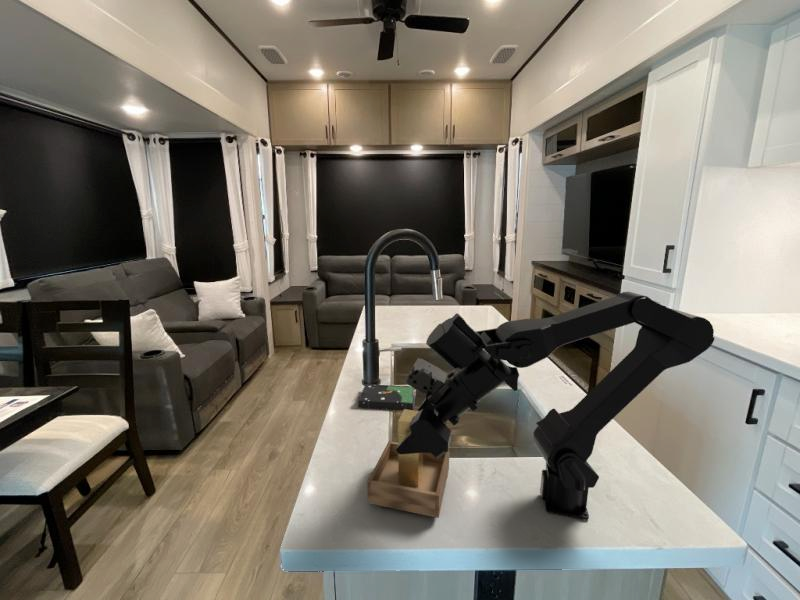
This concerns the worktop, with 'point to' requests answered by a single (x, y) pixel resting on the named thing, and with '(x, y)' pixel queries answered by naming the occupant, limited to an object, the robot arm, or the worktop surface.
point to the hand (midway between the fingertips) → (404, 436)
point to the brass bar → (408, 462)
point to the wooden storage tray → (406, 497)
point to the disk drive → (387, 397)
